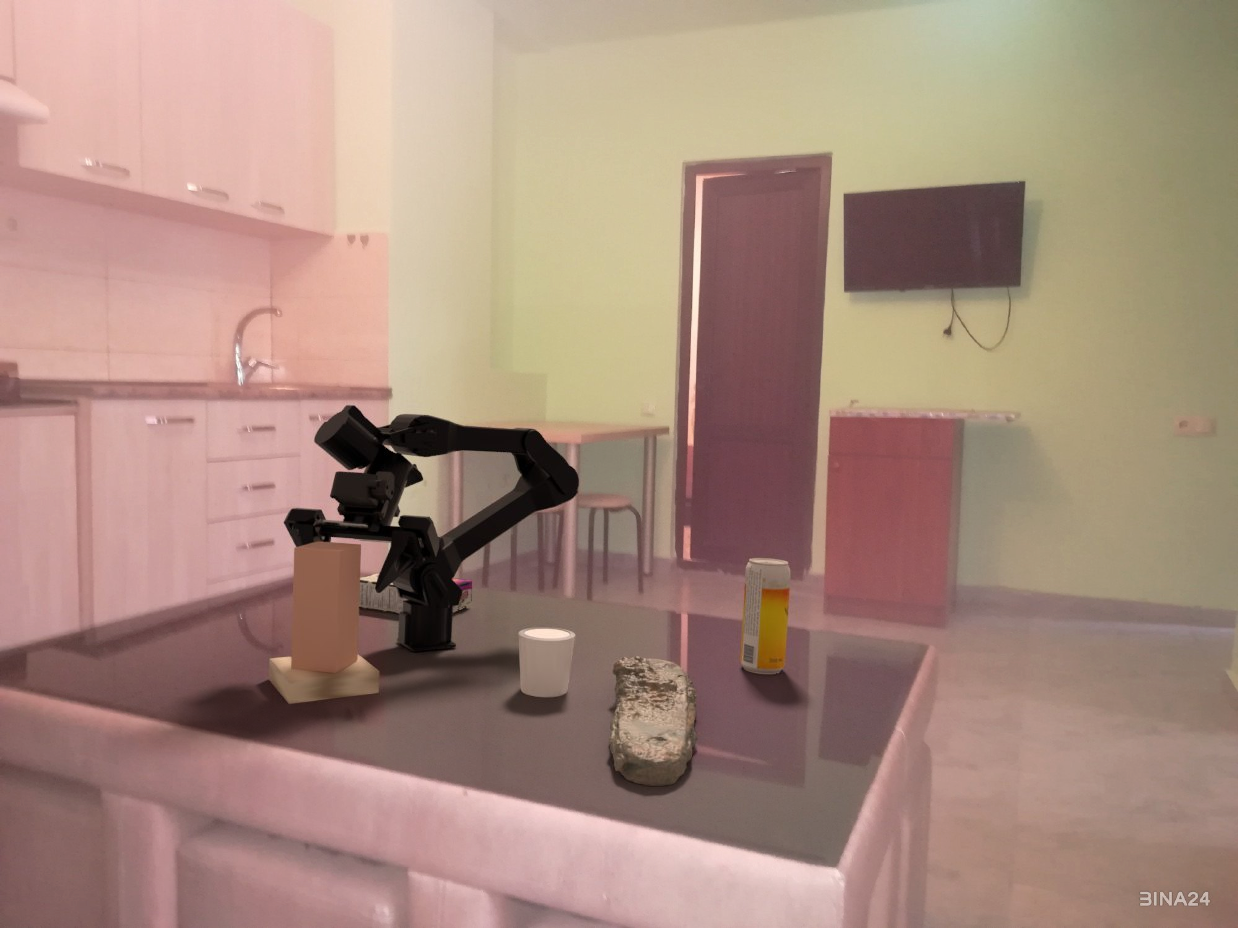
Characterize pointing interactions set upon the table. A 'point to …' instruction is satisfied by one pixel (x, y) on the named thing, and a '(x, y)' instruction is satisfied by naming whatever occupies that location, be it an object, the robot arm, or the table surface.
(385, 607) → the candy bar box
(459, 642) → the table surface
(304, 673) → the birch block
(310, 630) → the terracotta post
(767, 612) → the beer can
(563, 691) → the white cup
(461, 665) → the table surface
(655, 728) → the elongated rock
